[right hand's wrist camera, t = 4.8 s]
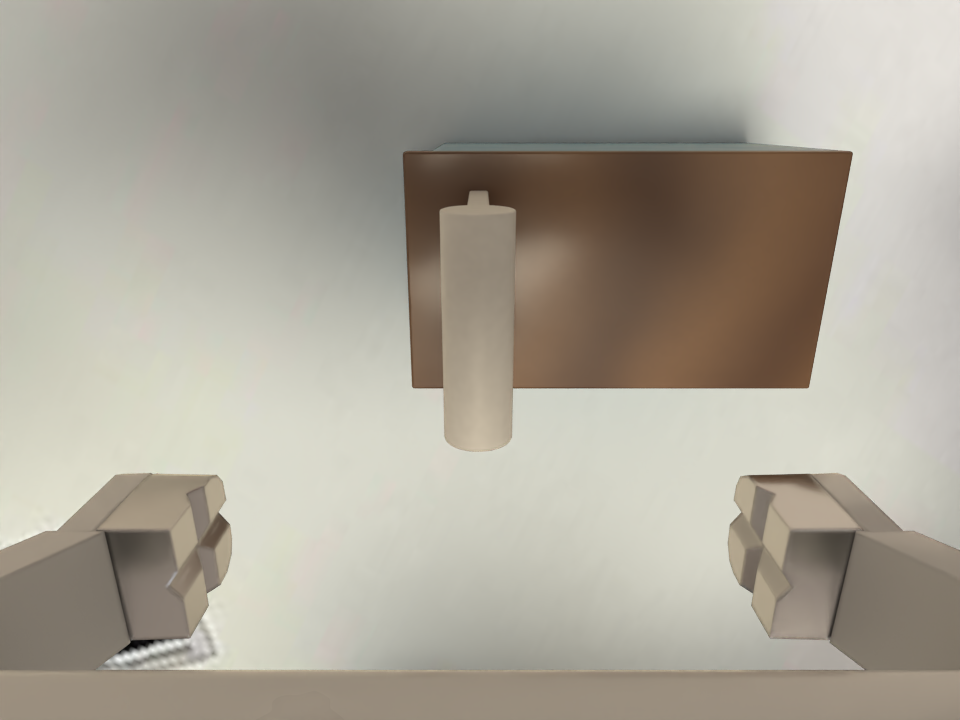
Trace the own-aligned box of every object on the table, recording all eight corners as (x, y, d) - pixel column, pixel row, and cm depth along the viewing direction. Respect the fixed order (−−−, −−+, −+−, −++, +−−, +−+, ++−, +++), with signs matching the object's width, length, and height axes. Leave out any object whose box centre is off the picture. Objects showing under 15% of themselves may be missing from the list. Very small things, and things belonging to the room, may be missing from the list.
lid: (413, 381, 28) (386, 488, 20) (405, 150, 25) (367, 165, 17) (799, 381, 28) (931, 488, 20) (842, 150, 25) (1020, 164, 17)
